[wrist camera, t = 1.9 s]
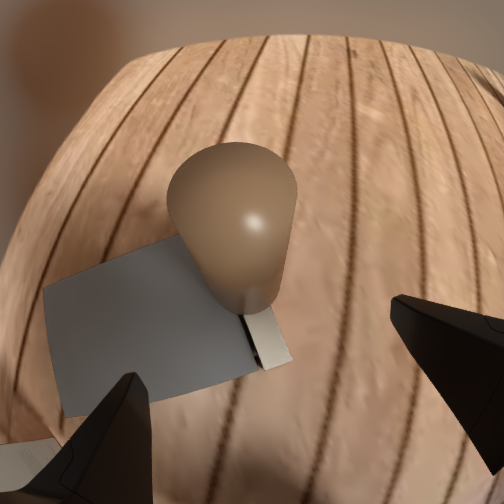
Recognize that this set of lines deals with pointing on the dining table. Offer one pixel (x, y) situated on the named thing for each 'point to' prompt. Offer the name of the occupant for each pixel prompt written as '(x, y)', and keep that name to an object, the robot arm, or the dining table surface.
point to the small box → (24, 461)
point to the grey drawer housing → (141, 328)
